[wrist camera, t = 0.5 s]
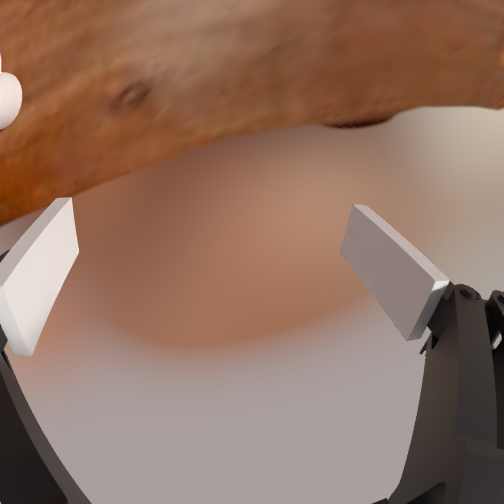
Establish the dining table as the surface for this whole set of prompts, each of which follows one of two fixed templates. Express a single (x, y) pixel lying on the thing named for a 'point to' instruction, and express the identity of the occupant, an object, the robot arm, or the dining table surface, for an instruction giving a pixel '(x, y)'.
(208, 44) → the dining table surface
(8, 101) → the mug
